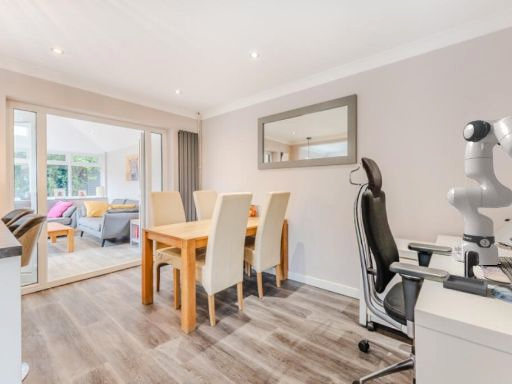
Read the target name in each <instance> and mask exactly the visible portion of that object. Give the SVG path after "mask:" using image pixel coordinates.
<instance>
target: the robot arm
mask: <svg viewBox="0 0 512 384" xmlns="http://www.w3.org/2000/svg"><path fill="white" fill-rule="evenodd" d="M462 136H463V139H464V140H465V141H466V142H467V143H466V145H465V149H464V164H463V165H464V168H463V169H464V175H465V177H467V178H468V179H471V180H474V181H476V182H477V183H478V186H474V185H473V186H472V185H468V186H466V185H465V186H463V185H462V186H457V187H452V188H450V189H449V190H448V192H447V195H446V199H447V200H446V201H447V202H448V203H449V204H450V206H453V207H454V208H455V209H457V210H458V211H459V213H460V215H461V216H462V218H463V226H464V232H463V234H462V241H461V242H460V243H459V244H457V246H454V251H455V252H456V253H455V252H454V253H453V252H452V253H451V254H450V255H451V256H452V258H453V259H454V260H455V261H456V262H461V263H464V254H465V252H466V251H469V250H470V251H475V252H477V253H478V254H479V264H478V265H477V266H483V265H497V264H498V263H501V262H502V261H500V258H499V248H498V246H496V245H495V244H496V239H495V235H494V221H493V219H492V218H491V217H490V216H488V215H485V214H483V213H481V212H479V210H478V209H481V208H482V209H484V208H485V209H497V208H498V209H500V208H506V207H510V206H511V205H512V189H511V188H509V187H507V186H505V185H504V184H503V183H501V182H500V181H499V179H498V178H497V177H496V174H495V170H494V169H495V168H494V167H495V166H494V153H493V151H494V147H495V146H496V145H498V146H501V148H502V149H503V151H505V153H507V155H508V157H511V159H512V115H508V116H505V117H503V118H500V119H499V118H493V119H492V118H491V119H477V120H472V121H469V122H468V123H467V124H466V125H465V126H464V128H463V131H462ZM509 241H511V242H512V236H510V238H509ZM499 261H500V262H499Z"/></svg>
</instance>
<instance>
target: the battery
mask: <svg viewBox="0 0 512 384" xmlns="http://www.w3.org/2000/svg"><path fill="white" fill-rule="evenodd" d="M478 264H479V254H478V253H477V252H475V251H470V250H469V251H466V252H465V254H464V262H463V266H464V267H463V268H464V270H463V271H464V273H463V277H468V278H473V279H478V277H477V275H476V274H475V273H474V267H477V266H479V265H478Z"/></svg>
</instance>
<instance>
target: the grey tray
mask: <svg viewBox="0 0 512 384" xmlns="http://www.w3.org/2000/svg"><path fill="white" fill-rule="evenodd" d="M442 288H445V289H448V290H452V291H457V292H462V293H465V294H470V295H475V296H479V297H484V298H486V297H487V292H488V281H487V280H483V279H478V278H477V279H473V278H468V277H464V275H463V276H462V275H457V274H451V273H448V274H447V275H446V276H445V278H444V279H443V281H442Z"/></svg>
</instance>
